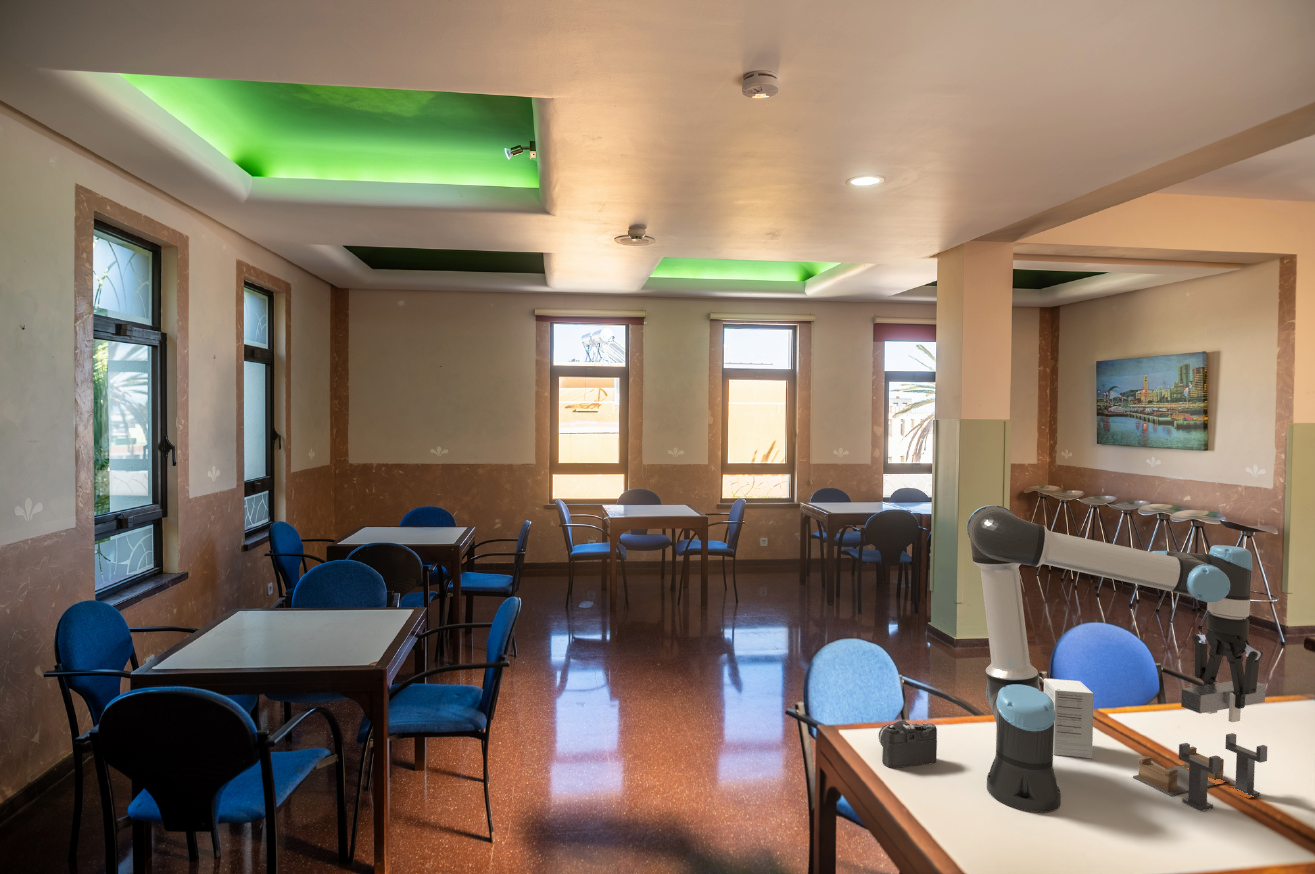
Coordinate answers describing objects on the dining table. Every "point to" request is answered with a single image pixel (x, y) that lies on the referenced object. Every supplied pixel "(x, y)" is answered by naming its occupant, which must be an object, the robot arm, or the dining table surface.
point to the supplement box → (1071, 717)
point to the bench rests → (1172, 775)
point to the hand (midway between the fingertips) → (1222, 716)
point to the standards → (1201, 769)
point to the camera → (908, 744)
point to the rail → (1216, 697)
